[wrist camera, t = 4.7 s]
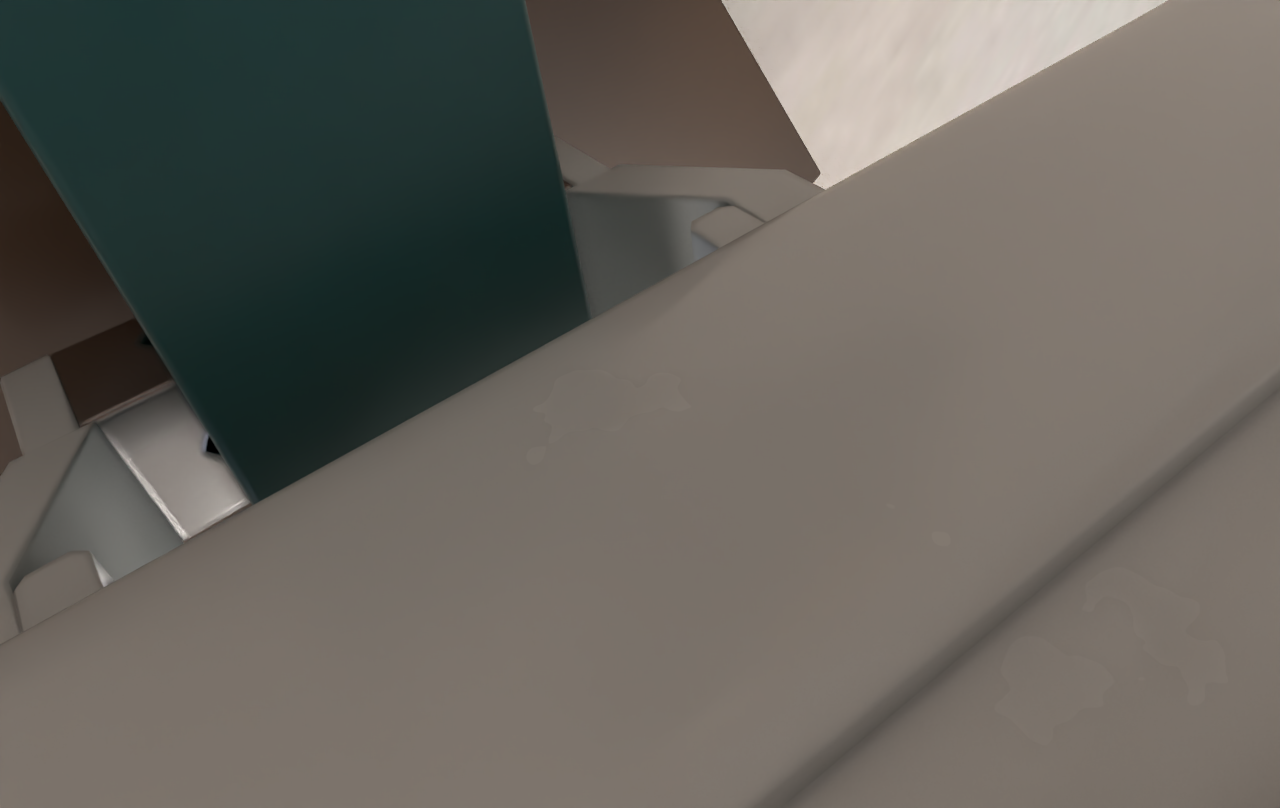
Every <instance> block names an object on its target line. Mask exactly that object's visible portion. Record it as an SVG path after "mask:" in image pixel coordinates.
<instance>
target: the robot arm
mask: <svg viewBox="0 0 1280 808" xmlns="http://www.w3.org/2000/svg"><path fill="white" fill-rule="evenodd" d="M554 139H555V143H556V148H557V153H558V158H559V162H560V167H561V172H562V176H563V181H564V186H565V191H566V195H567V200H568V205H569V210H570V214H571V219H572V224H573V228H574V233H575V238H576V243H577V247H578V252H579V257H580V262H581V266H582V271H583V276H584V280H585V285H586V290H587V295H588V299H589V304H590V309H591V314H592V319H590V320H588V321H586V322H585V323H583V324H581V325H579V326H577V327H576V328H574V329H572V330H570V331H568V332H566V333H565V334H563V335H561V336H559V337H557V338H556V339H554V340H552V341H550V342H548V343H547V344H545V345H543V346H541V347H539V348H537V349H536V350H534V351H532V352H530V353H528V354H527V355H525V356H523V357H521V358H519V359H517V360H516V361H514V362H512V363H510V364H508V365H507V366H505V367H503V368H501V369H499V370H497V371H496V372H494V373H492V374H490V375H488V376H487V377H485V378H483V379H481V380H479V381H477V382H476V383H474V384H472V385H470V386H468V387H467V388H465V389H463V390H461V391H459V392H457V393H456V394H454V395H452V396H450V397H448V398H447V399H445V400H443V401H441V402H439V403H437V404H436V405H434V406H432V407H430V408H428V409H427V410H425V411H423V412H421V413H419V414H418V415H416V416H414V417H412V418H410V419H408V420H407V421H405V422H403V423H401V424H399V425H398V426H396V427H394V428H392V429H390V430H388V431H387V432H385V433H383V434H381V435H379V436H378V437H376V438H374V439H372V440H370V441H368V442H367V443H365V444H363V445H361V446H359V447H358V448H356V449H354V450H352V451H350V452H348V453H347V454H345V455H343V456H341V457H339V458H338V459H336V460H334V461H332V462H330V463H328V464H327V465H325V466H323V467H321V468H319V469H318V470H316V471H314V472H312V473H310V474H308V475H307V476H305V477H303V478H301V479H299V480H298V481H296V482H294V483H292V484H290V485H289V486H287V487H285V488H283V489H281V490H279V491H278V492H276V493H274V494H272V495H270V496H269V497H267V498H265V499H263V500H261V501H259V502H258V503H256V504H254V505H252V506H250V507H249V508H247V509H245V510H243V511H241V512H239V513H238V514H236V515H234V516H232V517H230V518H229V519H227V520H225V521H223V522H221V523H219V524H218V525H216V526H214V527H212V528H210V529H209V530H207V531H205V532H203V533H201V534H199V535H198V536H196V537H194V538H192V539H190V540H189V541H187V542H185V543H183V542H184V541H186V540H187V539H189V538H191V537H192V536H194V535H196V534H198V533H199V532H201V531H203V530H204V529H206V528H208V527H210V526H211V525H213V524H215V523H217V522H218V521H220V520H222V519H223V518H225V517H227V516H229V515H230V514H232V513H234V512H235V511H237V510H239V509H241V508H242V507H244V506H246V505H247V504H249V503H251V502H250V501H249V499H248V498H247V496H246V494H245V493H244V491H243V490H242V488H241V486H240V485H239V483H238V482H237V480H236V478H235V477H234V475H233V474H232V472H231V470H230V469H229V467H228V465H227V464H226V462H225V461H224V459H223V457H222V456H221V454H220V453H219V451H218V449H217V448H216V446H215V445H214V443H213V441H212V440H211V438H210V437H209V435H208V433H207V432H206V430H205V429H204V427H203V425H202V424H201V422H200V420H199V419H198V417H197V416H196V414H195V412H194V411H193V409H192V408H191V406H190V404H189V403H188V401H187V400H186V398H185V396H184V395H183V393H182V392H181V390H180V388H179V387H178V385H177V384H176V382H175V380H174V379H173V377H172V376H171V374H170V372H169V371H168V369H167V367H166V366H165V364H164V363H163V361H162V359H161V358H160V356H159V355H158V353H157V351H156V350H155V348H154V347H153V345H152V343H151V342H150V340H149V339H148V337H147V335H146V334H145V332H144V331H143V329H142V327H141V326H140V324H139V323H138V321H137V319H136V318H133V319H130V320H128V321H126V322H123V323H121V324H119V325H117V326H114V327H112V328H110V329H107V330H105V331H103V332H100V333H98V334H96V335H94V336H91V337H89V338H87V339H84V340H82V341H80V342H78V343H75V344H73V345H71V346H68V347H66V348H64V349H62V350H59V351H57V352H55V353H52V355H51V356H50V355H45V356H43V357H41V358H39V359H37V360H35V361H33V362H31V363H29V364H27V365H25V366H23V367H21V368H18V369H16V370H14V371H12V372H10V373H8V374H6V375H4V376H3V377H2V378H1V380H0V385H1V388H2V391H3V394H4V397H5V401H6V404H7V407H8V410H9V413H10V417H11V420H12V423H13V426H14V429H15V433H16V436H17V439H18V442H19V445H20V449H21V452H22V455H23V456H21V457H19V458H17V459H15V460H13V461H11V462H9V464H8V465H7V467H6V468H5V470H4V472H3V473H2V475H1V476H0V808H1280V0H1168V1H1166V2H1164V3H1163V4H1161V5H1159V6H1157V7H1156V8H1154V9H1152V10H1150V11H1149V12H1147V13H1145V14H1143V15H1142V16H1140V17H1138V18H1136V19H1135V20H1133V21H1131V22H1129V23H1127V24H1126V25H1124V26H1122V27H1120V28H1118V29H1116V30H1115V31H1113V32H1111V33H1109V34H1107V35H1106V36H1104V37H1102V38H1100V39H1098V40H1096V41H1095V42H1093V43H1091V44H1089V45H1087V46H1086V47H1084V48H1082V49H1080V50H1078V51H1076V52H1075V53H1073V54H1071V55H1069V56H1067V57H1065V58H1064V59H1062V60H1060V61H1058V62H1056V63H1055V64H1053V65H1051V66H1049V67H1047V68H1045V69H1044V70H1042V71H1040V72H1038V73H1036V74H1035V75H1033V76H1031V77H1029V78H1027V79H1025V80H1024V81H1022V82H1020V83H1018V84H1016V85H1015V86H1013V87H1011V88H1009V89H1007V90H1005V91H1004V92H1002V93H1000V94H998V95H996V96H995V97H993V98H991V99H989V100H987V101H986V102H984V103H982V104H980V105H978V106H976V107H975V108H973V109H971V110H969V111H967V112H966V113H964V114H962V115H960V116H958V117H957V118H955V119H953V120H951V121H949V122H947V123H946V124H944V125H942V126H940V127H938V128H937V129H935V130H933V131H931V132H929V133H927V134H926V135H924V136H922V137H920V138H918V139H917V140H915V141H913V142H911V143H909V144H908V145H906V146H904V147H902V148H900V149H898V150H897V151H895V152H893V153H891V154H889V155H888V156H886V157H884V158H882V159H880V160H878V161H877V162H875V163H873V164H871V165H869V166H868V167H866V168H864V169H862V170H860V171H859V172H857V173H855V174H853V175H851V176H849V177H848V178H846V179H844V180H842V181H840V182H839V183H837V184H835V185H833V186H831V187H829V188H828V189H826V190H825V189H823V188H821V187H819V186H817V185H815V184H813V183H811V182H809V181H807V180H805V179H803V178H801V177H799V176H797V175H795V174H793V173H791V172H789V171H787V170H779V169H748V168H717V167H686V166H655V165H624V164H620V165H618V166H615V167H613V168H611V169H609V168H608V167H606V166H604V165H603V164H601V163H599V162H598V161H596V160H594V159H593V158H591V157H589V156H587V155H586V154H584V153H582V152H581V151H579V150H577V149H576V148H574V147H572V146H571V145H569V144H567V143H566V142H564V141H562V140H561V139H559V138H557V137H555V136H554Z"/></svg>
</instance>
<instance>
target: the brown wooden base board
mask: <svg viewBox="0 0 1280 808" xmlns="http://www.w3.org/2000/svg"><path fill="white" fill-rule="evenodd" d="M525 2H526V6H527V11H528V16H529V20H530V25H531V30H532V35H533V39H534V44H535V49H536V54H537V58H538V63H539V68H540V72H541V77H542V82H543V87H544V91H545V96H546V101H547V106H548V110H549V115H550V120H551V124H552V129H553V134H554V136H555V137H557V138H559V139H561V140H562V141H564V142H566V143H567V144H569V145H571V146H572V147H574V148H576V149H577V150H579V151H581V152H582V153H584V154H586V155H587V156H589V157H591V158H593V159H594V160H596V161H598V162H599V163H601V164H603V165H604V166H606V167H608V168H609V169H611V168H613V167H615V166H618V165H620V164H624V165H655V166H686V167H717V168H748V169H779V170H787V171H789V172H791V173H793V174H795V175H797V176H799V177H801V178H803V179H805V180H807V181H809V182H811V183H813V182H814V181H815V180H816V179H817V178H818V177H819V175H820V171H819V169H818V167H817V165H816V164H815V162H814V160H813V159H812V157H811V155H810V153H809V152H808V150H807V148H806V146H805V145H804V143H803V141H802V140H801V138H800V136H799V134H798V133H797V131H796V129H795V127H794V126H793V124H792V122H791V121H790V119H789V117H788V115H787V114H786V112H785V110H784V108H783V107H782V105H781V103H780V101H779V100H778V98H777V96H776V95H775V93H774V91H773V89H772V88H771V86H770V84H769V82H768V81H767V79H766V77H765V76H764V74H763V72H762V70H761V69H760V67H759V65H758V63H757V62H756V60H755V58H754V57H753V55H752V53H751V51H750V50H749V48H748V46H747V44H746V43H745V41H744V39H743V38H742V36H741V34H740V32H739V31H738V29H737V27H736V25H735V24H734V22H733V20H732V19H731V17H730V15H729V13H728V12H727V10H726V8H725V6H724V5H723V3H722V1H721V0H525ZM133 318H135V316H134V314H133V313H132V311H131V310H130V308H129V306H128V305H127V303H126V302H125V300H124V298H123V297H122V295H121V294H120V292H119V290H118V289H117V287H116V286H115V284H114V282H113V281H112V279H111V278H110V276H109V274H108V273H107V271H106V270H105V268H104V266H103V265H102V263H101V261H100V260H99V258H98V257H97V255H96V253H95V252H94V250H93V249H92V247H91V245H90V244H89V242H88V241H87V239H86V237H85V236H84V234H83V233H82V231H81V229H80V228H79V226H78V225H77V223H76V221H75V220H74V218H73V217H72V215H71V213H70V212H69V210H68V208H67V207H66V205H65V204H64V202H63V200H62V199H61V197H60V196H59V194H58V192H57V191H56V189H55V188H54V186H53V184H52V183H51V181H50V180H49V178H48V176H47V175H46V173H45V172H44V170H43V168H42V167H41V165H40V163H39V162H38V160H37V159H36V157H35V155H34V154H33V152H32V151H31V149H30V147H29V146H28V144H27V143H26V141H25V139H24V138H23V136H22V135H21V133H20V131H19V130H18V128H17V127H16V125H15V123H14V122H13V120H12V119H11V117H10V115H9V114H8V112H7V110H6V109H5V107H4V106H3V104H2V102H1V101H0V380H1V378H2V377H3V376H4V375H6V374H8V373H10V372H12V371H14V370H16V369H18V368H21V367H23V366H25V365H27V364H29V363H31V362H33V361H35V360H37V359H39V358H41V357H43V356H45V355H50V356H51V355H52V353H55V352H57V351H59V350H62V349H64V348H66V347H68V346H71V345H73V344H75V343H78V342H80V341H82V340H84V339H87V338H89V337H91V336H94V335H96V334H98V333H100V332H103V331H105V330H107V329H110V328H112V327H114V326H117V325H119V324H121V323H123V322H126V321H128V320H130V319H133ZM21 456H23V455H22V452H21V449H20V445H19V442H18V439H17V436H16V433H15V429H14V426H13V423H12V420H11V417H10V413H9V410H8V407H7V404H6V401H5V397H4V394H3V391H2V388H1V385H0V476H1V475H2V473H3V472H4V470H5V468H6V467H7V465H8V464H9V462H11V461H13V460H15V459H17V458H19V457H21ZM250 506H252V504H251V503H249V504H247V505H246V506H244V507H242V508H241V509H239V510H237V511H235V512H234V513H232V514H230V515H229V516H227V517H225V518H223V519H222V520H220V521H218V522H217V523H215V524H213V525H211V526H210V527H208V528H206V529H204V530H203V531H201V532H199V533H198V534H196V535H194V536H192V537H191V538H189V539H187V540H186V541H184V542H183V543H185V542H187V541H189V540H190V539H192V538H194V537H196V536H198V535H199V534H201V533H203V532H205V531H207V530H209V529H210V528H212V527H214V526H216V525H218V524H219V523H221V522H223V521H225V520H227V519H229V518H230V517H232V516H234V515H236V514H238V513H239V512H241V511H243V510H245V509H247V508H249V507H250Z"/></svg>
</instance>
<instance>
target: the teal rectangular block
mask: <svg viewBox="0 0 1280 808" xmlns="http://www.w3.org/2000/svg"><path fill="white" fill-rule="evenodd" d="M0 101H1V102H2V104H3V106H4V107H5V109H6V110H7V112H8V114H9V115H10V117H11V119H12V120H13V122H14V123H15V125H16V127H17V128H18V130H19V131H20V133H21V135H22V136H23V138H24V139H25V141H26V143H27V144H28V146H29V147H30V149H31V151H32V152H33V154H34V155H35V157H36V159H37V160H38V162H39V163H40V165H41V167H42V168H43V170H44V172H45V173H46V175H47V176H48V178H49V180H50V181H51V183H52V184H53V186H54V188H55V189H56V191H57V192H58V194H59V196H60V197H61V199H62V200H63V202H64V204H65V205H66V207H67V208H68V210H69V212H70V213H71V215H72V217H73V218H74V220H75V221H76V223H77V225H78V226H79V228H80V229H81V231H82V233H83V234H84V236H85V237H86V239H87V241H88V242H89V244H90V245H91V247H92V249H93V250H94V252H95V253H96V255H97V257H98V258H99V260H100V261H101V263H102V265H103V266H104V268H105V270H106V271H107V273H108V274H109V276H110V278H111V279H112V281H113V282H114V284H115V286H116V287H117V289H118V290H119V292H120V294H121V295H122V297H123V298H124V300H125V302H126V303H127V305H128V306H129V308H130V310H131V311H132V313H133V314H134V316H135V318H136V319H137V321H138V323H139V324H140V326H141V327H142V329H143V331H144V332H145V334H146V335H147V337H148V339H149V340H150V342H151V343H152V345H153V347H154V348H155V350H156V351H157V353H158V355H159V356H160V358H161V359H162V361H163V363H164V364H165V366H166V367H167V369H168V371H169V372H170V374H171V376H172V377H173V379H174V380H175V382H176V384H177V385H178V387H179V388H180V390H181V392H182V393H183V395H184V396H185V398H186V400H187V401H188V403H189V404H190V406H191V408H192V409H193V411H194V412H195V414H196V416H197V417H198V419H199V420H200V422H201V424H202V425H203V427H204V429H205V430H206V432H207V433H208V435H209V437H210V438H211V440H212V441H213V443H214V445H215V446H216V448H217V449H218V451H219V453H220V454H221V456H222V457H223V459H224V461H225V462H226V464H227V465H228V467H229V469H230V470H231V472H232V474H233V475H234V477H235V478H236V480H237V482H238V483H239V485H240V486H241V488H242V490H243V491H244V493H245V494H246V496H247V498H248V499H249V501H250V502H251V504H252V505H254V504H256V503H258V502H259V501H261V500H263V499H265V498H267V497H269V496H270V495H272V494H274V493H276V492H278V491H279V490H281V489H283V488H285V487H287V486H289V485H290V484H292V483H294V482H296V481H298V480H299V479H301V478H303V477H305V476H307V475H308V474H310V473H312V472H314V471H316V470H318V469H319V468H321V467H323V466H325V465H327V464H328V463H330V462H332V461H334V460H336V459H338V458H339V457H341V456H343V455H345V454H347V453H348V452H350V451H352V450H354V449H356V448H358V447H359V446H361V445H363V444H365V443H367V442H368V441H370V440H372V439H374V438H376V437H378V436H379V435H381V434H383V433H385V432H387V431H388V430H390V429H392V428H394V427H396V426H398V425H399V424H401V423H403V422H405V421H407V420H408V419H410V418H412V417H414V416H416V415H418V414H419V413H421V412H423V411H425V410H427V409H428V408H430V407H432V406H434V405H436V404H437V403H439V402H441V401H443V400H445V399H447V398H448V397H450V396H452V395H454V394H456V393H457V392H459V391H461V390H463V389H465V388H467V387H468V386H470V385H472V384H474V383H476V382H477V381H479V380H481V379H483V378H485V377H487V376H488V375H490V374H492V373H494V372H496V371H497V370H499V369H501V368H503V367H505V366H507V365H508V364H510V363H512V362H514V361H516V360H517V359H519V358H521V357H523V356H525V355H527V354H528V353H530V352H532V351H534V350H536V349H537V348H539V347H541V346H543V345H545V344H547V343H548V342H550V341H552V340H554V339H556V338H557V337H559V336H561V335H563V334H565V333H566V332H568V331H570V330H572V329H574V328H576V327H577V326H579V325H581V324H583V323H585V322H586V321H588V320H590V319H592V314H591V309H590V304H589V299H588V295H587V290H586V285H585V280H584V276H583V271H582V266H581V262H580V257H579V252H578V247H577V243H576V238H575V233H574V228H573V224H572V219H571V214H570V210H569V205H568V200H567V195H566V191H565V186H564V181H563V176H562V172H561V167H560V162H559V158H558V153H557V148H556V143H555V139H554V134H553V129H552V124H551V120H550V115H549V110H548V106H547V101H546V96H545V91H544V87H543V82H542V77H541V72H540V68H539V63H538V58H537V54H536V49H535V44H534V39H533V35H532V30H531V25H530V20H529V16H528V11H527V6H526V2H525V0H0Z"/></svg>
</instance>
